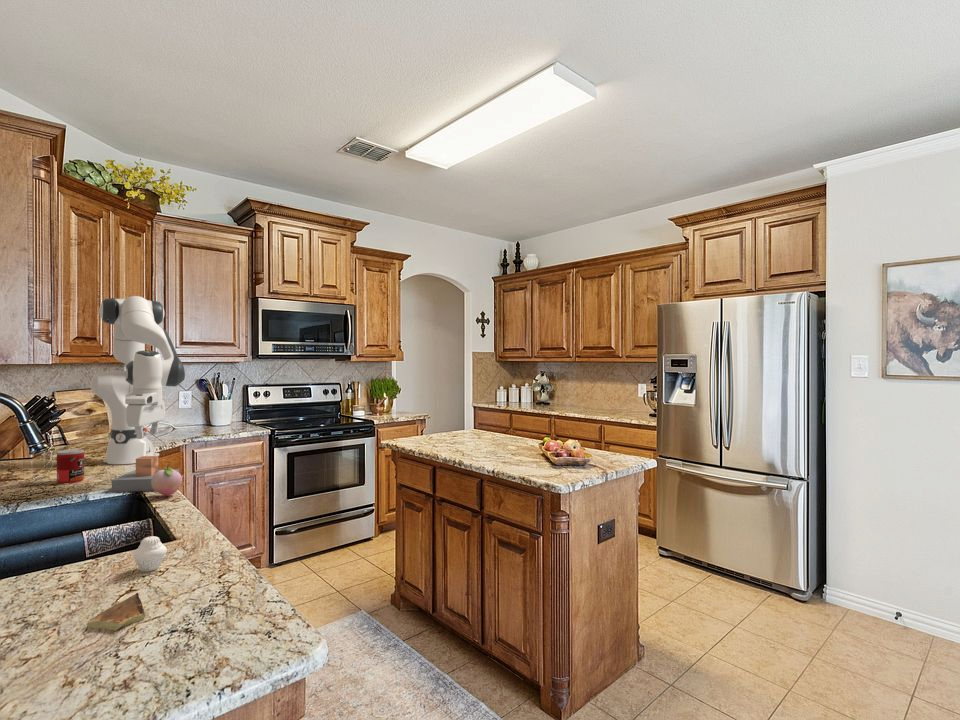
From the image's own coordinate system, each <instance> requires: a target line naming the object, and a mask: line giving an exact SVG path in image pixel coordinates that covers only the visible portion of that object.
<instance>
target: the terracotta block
mask: <svg viewBox="0 0 960 720" xmlns="http://www.w3.org/2000/svg"><path fill="white" fill-rule="evenodd" d="M135 470H136V476H152V475H154V474H156V473H157V472H158V470H159V456H142V457H139V458H137V459H136V463H135Z"/></svg>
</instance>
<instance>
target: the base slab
mask: <svg viewBox="0 0 960 720" xmlns="http://www.w3.org/2000/svg"><path fill="white" fill-rule="evenodd" d="M172 469H173V468H172ZM161 470H162V469H158V471H161ZM173 470H175V471H177V472H179V473H180V469H179V468H177V469H176V468H175V469H173ZM154 475H155V474H154ZM154 475H152V476H136V469H134V470H132V471H130V472H127V473H126V474H125V473H124V474H123V475H120V476H118V477H116V478H114V479H113V478H112V479H111V492H112V493H117V492H123V493H124V492H126V493H127V492H153V491H154V492H156V491H155V490H154V489H153V488H152V485H151V481H152V478H153V476H154Z"/></svg>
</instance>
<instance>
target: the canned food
mask: <svg viewBox="0 0 960 720" xmlns="http://www.w3.org/2000/svg"><path fill="white" fill-rule="evenodd" d="M84 478H85V450H84V449H82V448H80V449H79V448H78V449H77V448H76V449H74V448H73V449H62V450H59V451H57V452H56V483H58V484H60V483H69V484H75V483H76V484H77V483H80V482H83V480H84Z"/></svg>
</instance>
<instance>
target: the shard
mask: <svg viewBox="0 0 960 720" xmlns="http://www.w3.org/2000/svg"><path fill="white" fill-rule="evenodd" d="M146 617H147V615H146V613H145V609H144V606H143V602H142V600H141V598H140V594H139V592H136V593H135V594H132V595H131V596H129V597H128V598H126V599H124V600H122V601H120V602H118V603H116V604H114V605H113V606H111V607H108V608H107V609H105V610H104V611H102V612H100V613H98V614H97V615H96V616H93V617H92V618H91V619H89V620H88V622H87V623H86V626H87V629H88V628H89V629H104V630H105V629H106V630H109V631H118V630H120V629H121V628H122V627H125V626H128V625H130V624H132V623H136V622H139V621H142V620H145V618H146Z"/></svg>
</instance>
